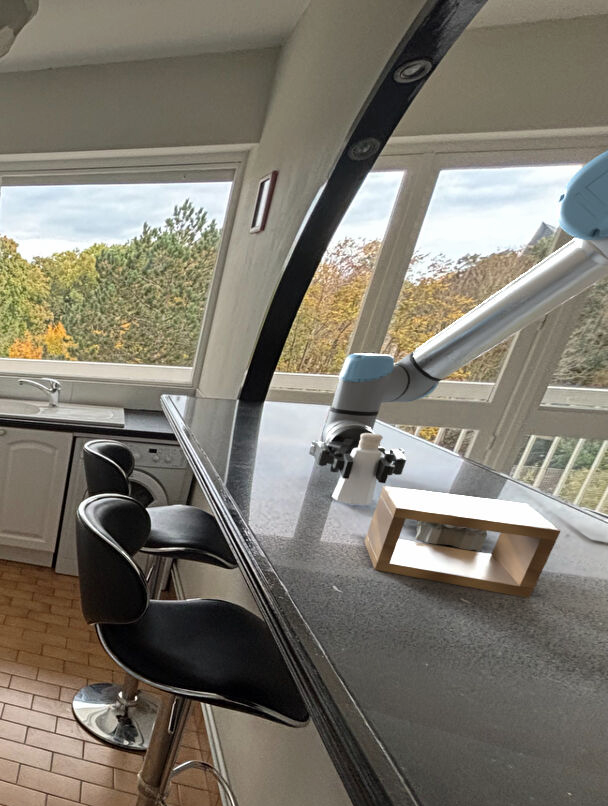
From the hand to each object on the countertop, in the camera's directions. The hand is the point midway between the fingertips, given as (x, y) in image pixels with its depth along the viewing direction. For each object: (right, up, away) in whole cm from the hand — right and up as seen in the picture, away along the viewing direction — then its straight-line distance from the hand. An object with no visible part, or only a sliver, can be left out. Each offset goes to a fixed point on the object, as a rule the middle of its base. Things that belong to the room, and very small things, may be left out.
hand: (366, 472), depth 91 cm
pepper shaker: (+3, -4, +7) cm, 8 cm away
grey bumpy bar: (+5, -10, -7) cm, 14 cm away
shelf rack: (-5, -14, -17) cm, 23 cm away
